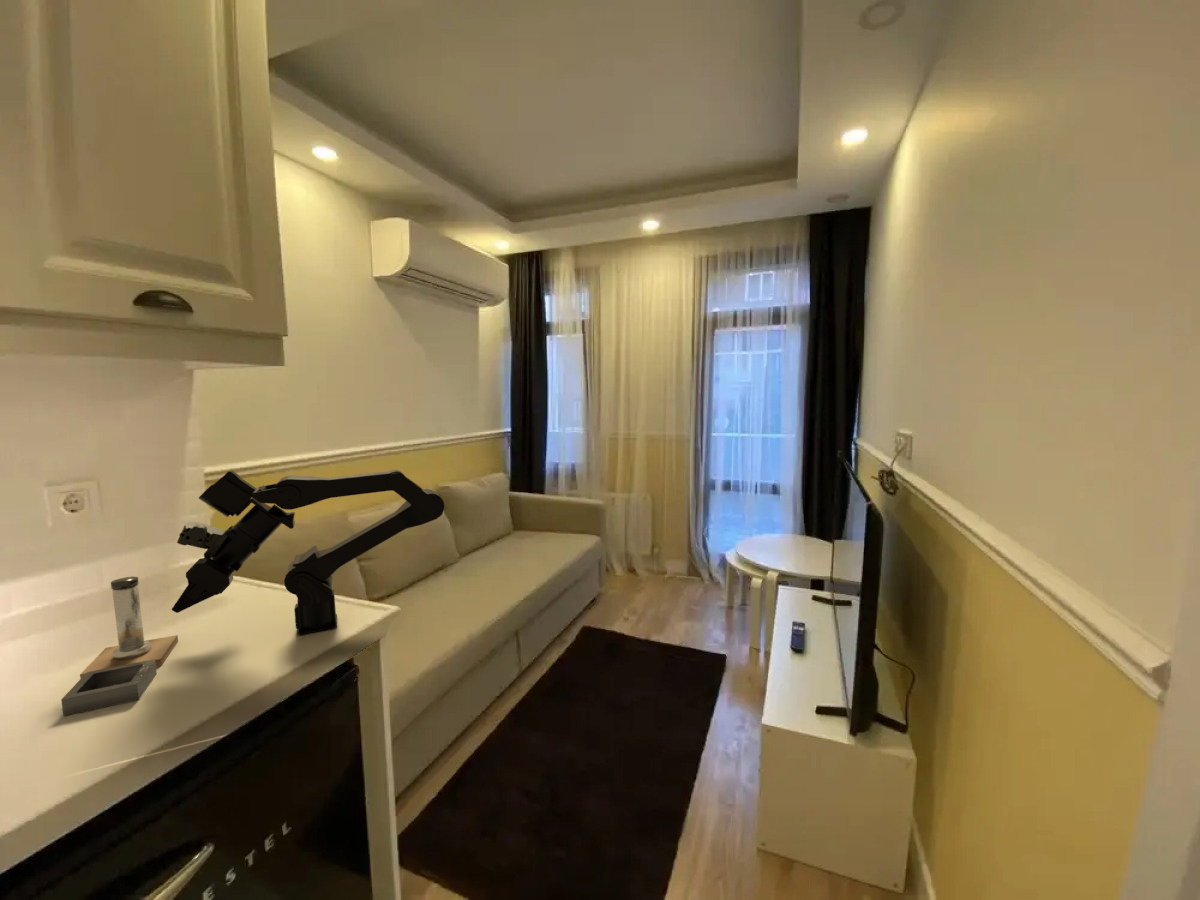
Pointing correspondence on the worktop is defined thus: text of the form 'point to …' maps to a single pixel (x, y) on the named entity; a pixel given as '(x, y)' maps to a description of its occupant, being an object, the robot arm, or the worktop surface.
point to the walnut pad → (157, 652)
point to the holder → (92, 698)
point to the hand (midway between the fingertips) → (181, 601)
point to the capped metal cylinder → (128, 619)
